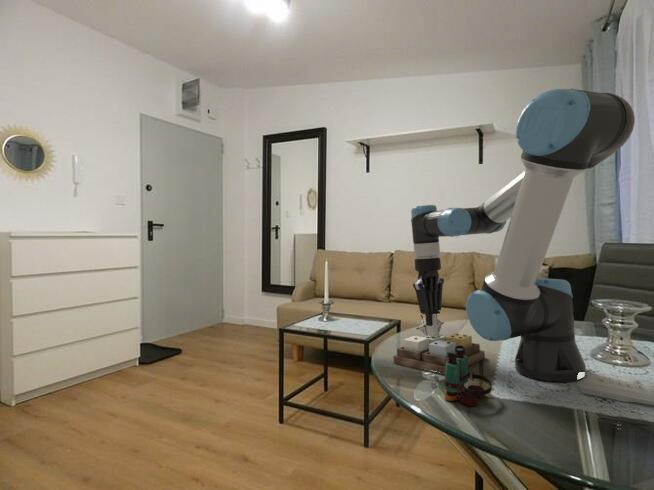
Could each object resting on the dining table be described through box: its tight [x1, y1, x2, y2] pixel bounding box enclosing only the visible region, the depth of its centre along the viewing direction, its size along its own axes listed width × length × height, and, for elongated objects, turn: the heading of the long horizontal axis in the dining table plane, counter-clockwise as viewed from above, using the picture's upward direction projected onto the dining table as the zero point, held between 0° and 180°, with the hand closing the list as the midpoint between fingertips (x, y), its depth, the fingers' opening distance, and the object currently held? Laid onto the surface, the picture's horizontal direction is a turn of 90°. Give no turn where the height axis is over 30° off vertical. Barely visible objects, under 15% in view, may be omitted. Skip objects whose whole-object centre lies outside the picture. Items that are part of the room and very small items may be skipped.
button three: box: [423, 334, 446, 344], centre depth 115 cm, size 5×5×3 cm
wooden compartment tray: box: [392, 338, 486, 376], centre depth 109 cm, size 18×18×4 cm
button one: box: [402, 335, 429, 352], centre depth 109 cm, size 5×5×3 cm
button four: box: [445, 333, 473, 349], centre depth 108 cm, size 5×5×3 cm
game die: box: [416, 314, 445, 336], centre depth 134 cm, size 9×8×10 cm
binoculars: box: [443, 345, 493, 407], centre depth 83 cm, size 9×11×10 cm
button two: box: [429, 340, 456, 358], centre depth 103 cm, size 5×5×3 cm
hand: (432, 335), depth 115 cm, fingers closed
